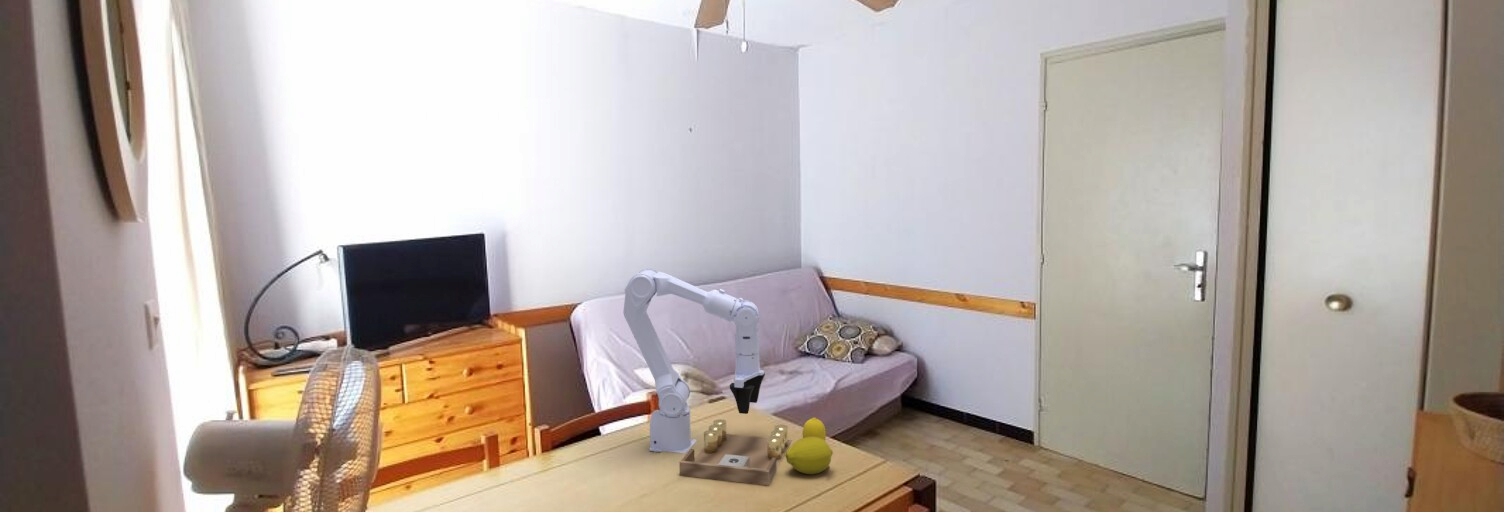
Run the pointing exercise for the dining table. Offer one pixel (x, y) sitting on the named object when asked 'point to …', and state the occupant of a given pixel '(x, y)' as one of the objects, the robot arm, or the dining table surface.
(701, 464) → the tray
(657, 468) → the dining table surface
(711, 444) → the spacers
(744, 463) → the square block with knob
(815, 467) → the lemon
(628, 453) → the dining table surface
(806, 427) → the lemon
